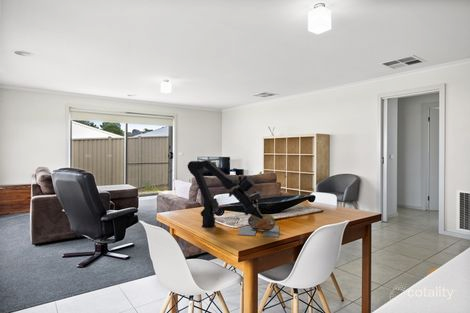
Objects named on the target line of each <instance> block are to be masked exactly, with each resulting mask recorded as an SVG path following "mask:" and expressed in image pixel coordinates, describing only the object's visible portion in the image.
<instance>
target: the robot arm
mask: <svg viewBox="0 0 470 313" xmlns="http://www.w3.org/2000/svg"><path fill="white" fill-rule="evenodd" d="M204 168H205V169H206V170H208V172H210V173H211V174H212V175H213V176H215V177H216V178H217V179H218V180H219V181H220V183H221V185H222V186H223V187H224V188H225V189H226V190H229V194H228V198H229V197H230V198H231V197H232V196H233V197H234V198H235V199H236V200H237V201H238V202H239V204H240V205H242V206H243V207H244V210H243V211H244V212H243V213H244V215H245V216H248V215H250V216H251V215H254V216H256V217H258V218H261V219H262V218H263V216H262V215H261V214H262V213H261V211H260V209H259V208H258V207H259V203H258V202H259V200H260V199H261V198H262V195H261V192H260V191H257V190H255V191H253V194H248V192H249V191H250V190H251V189H253V187H254V186H255V184H256V183H255V181H254V180H253V179H252V178H251V177H249V176H247V175H244V177H243V178H242V179H241V180H237V179H236V178H235V177H232V176H231V175H228V174H226V172H224V171H222V170H221V169H220V168H219V167H218V166H216V165H215V164H214V163H213V162H212V161H211V160H210V159H206V160H205V159H204V160H201V161H199V160H191V161H189V162H188V163H187V170H188V172H189V173H190V174H191V175H192V176H193V177H194V178H195V181H196V183H197V186H198V189H199V192H200V194H201V197H202V198H203V203H202V204H203V209H202V211H200V216H201V217H202V224H201V228H214V227H215V226H216V217H215V215H216V214H217V212H218V211H219V208H220V206H219V205H220V204H219V202H218V199H217V198H216V197H215V198H214V197H213V196H212V194H211V192H210V190H209V186H208V185H207V182H206V179H205V177H204V174H203V170H204Z"/></svg>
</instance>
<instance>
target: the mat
mask: <svg viewBox="0 0 470 313" xmlns="http://www.w3.org/2000/svg"><path fill="white" fill-rule="evenodd" d="M257 232H258V231H257V229H253V228H251V227H250V226H244V227H242V226H240V228H239V230H238V232H237V236H248V237H255V236H256V234H257ZM262 232H263V233H262V237H266V238H279V236H280V235H279V234H280V225H275V226H274V228H273V229H272V230H269V231H265V230H263V231H262Z"/></svg>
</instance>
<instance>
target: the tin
mask: <svg viewBox="0 0 470 313" xmlns="http://www.w3.org/2000/svg"><path fill="white" fill-rule="evenodd" d="M261 215H262V216H263V218H262V219H261V218H258V217H256V216H254V215H251V214H250V216H249V217H248V219H247V224H249V226H250V227H251V228H253V229H257V230H259V231H264V230H265V231H269V230H272V229H273V228H274V226H276V221H275V217H273V215H270V214H262V213H261Z"/></svg>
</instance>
